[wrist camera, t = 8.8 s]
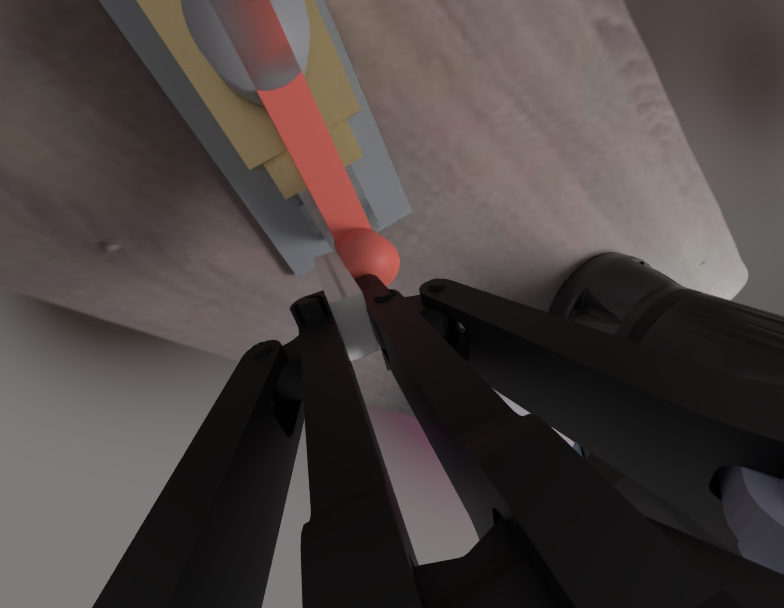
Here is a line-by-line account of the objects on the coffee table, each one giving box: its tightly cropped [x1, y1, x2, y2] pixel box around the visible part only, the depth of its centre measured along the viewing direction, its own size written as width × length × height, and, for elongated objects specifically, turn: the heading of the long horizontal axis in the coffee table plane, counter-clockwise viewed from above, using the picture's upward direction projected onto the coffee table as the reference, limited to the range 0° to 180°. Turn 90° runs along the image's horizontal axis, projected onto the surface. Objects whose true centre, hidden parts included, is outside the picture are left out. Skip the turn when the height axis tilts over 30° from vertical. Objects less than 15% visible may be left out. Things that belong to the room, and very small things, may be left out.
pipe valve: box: [136, 0, 381, 252], centre depth 17 cm, size 22×7×7 cm, turn 26°
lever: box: [180, 0, 400, 286], centre depth 13 cm, size 14×4×6 cm, turn 23°
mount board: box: [99, 0, 412, 278], centre depth 20 cm, size 25×12×1 cm, turn 26°
